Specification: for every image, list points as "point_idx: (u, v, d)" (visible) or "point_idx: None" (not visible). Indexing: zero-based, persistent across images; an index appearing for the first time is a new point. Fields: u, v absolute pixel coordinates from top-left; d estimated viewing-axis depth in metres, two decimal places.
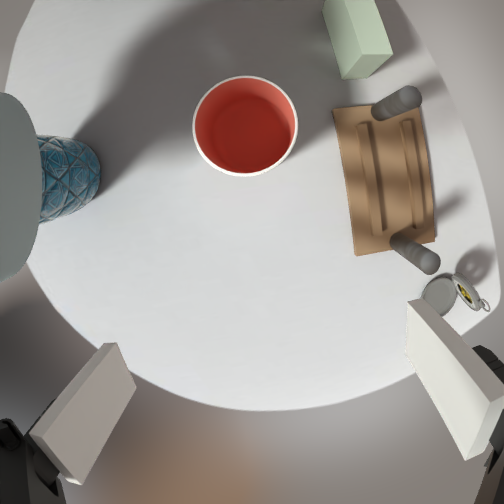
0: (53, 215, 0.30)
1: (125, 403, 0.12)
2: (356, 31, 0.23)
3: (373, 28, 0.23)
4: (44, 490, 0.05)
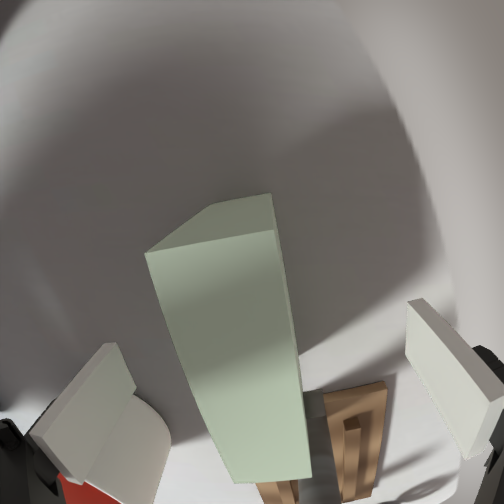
0: None
1: (125, 403, 0.12)
2: (220, 451, 0.10)
3: (270, 442, 0.10)
4: (44, 490, 0.05)
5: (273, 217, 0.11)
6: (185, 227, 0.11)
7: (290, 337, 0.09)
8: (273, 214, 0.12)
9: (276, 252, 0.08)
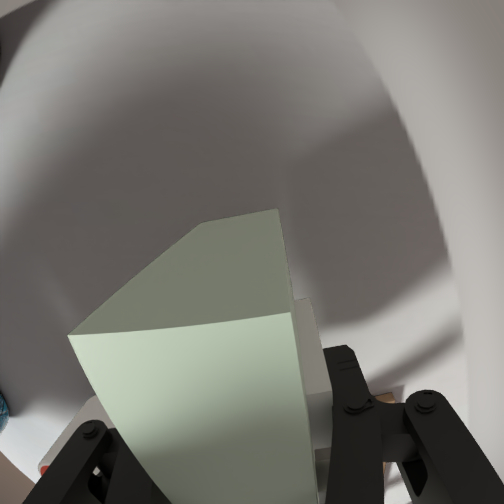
0: None
1: None
2: None
3: None
4: None
5: None
6: (150, 271, 0.07)
7: (309, 458, 0.05)
8: None
9: (294, 351, 0.04)
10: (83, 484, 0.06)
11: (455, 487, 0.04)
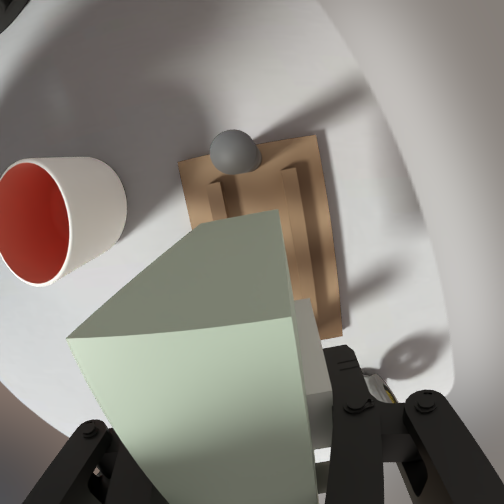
0: None
1: None
2: None
3: None
4: None
5: (285, 261, 0.07)
6: (150, 273, 0.07)
7: (310, 462, 0.04)
8: (284, 250, 0.08)
9: (295, 356, 0.04)
10: (83, 484, 0.05)
11: (455, 487, 0.04)
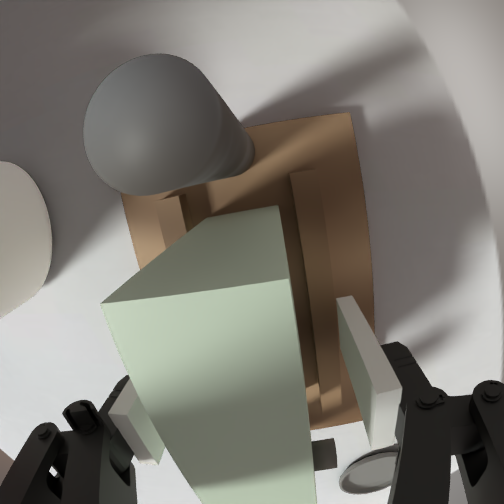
0: None
1: None
2: None
3: None
4: (116, 481, 0.06)
5: None
6: (167, 256, 0.08)
7: (305, 416, 0.06)
8: None
9: (292, 312, 0.05)
10: (42, 481, 0.05)
11: None
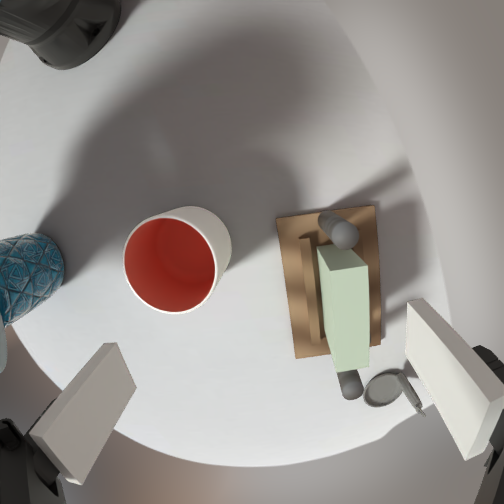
0: (23, 315, 0.32)
1: (125, 403, 0.12)
2: (336, 350, 0.28)
3: (356, 343, 0.28)
4: (44, 490, 0.05)
5: None
6: (328, 261, 0.29)
7: (368, 297, 0.27)
8: None
9: (367, 271, 0.26)
10: None
11: None
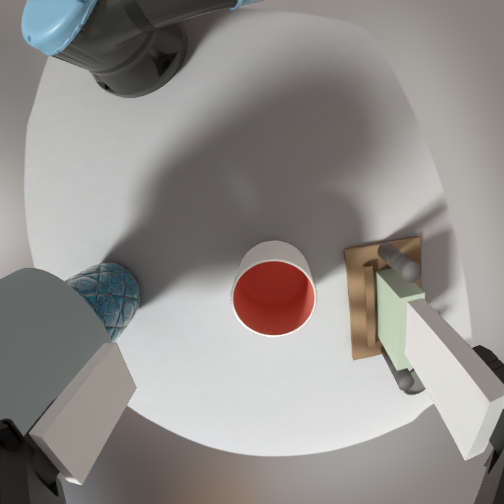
0: None
1: (125, 403, 0.12)
2: (398, 354, 0.35)
3: None
4: (44, 490, 0.05)
5: None
6: (394, 288, 0.36)
7: None
8: None
9: (424, 297, 0.33)
10: None
11: None
